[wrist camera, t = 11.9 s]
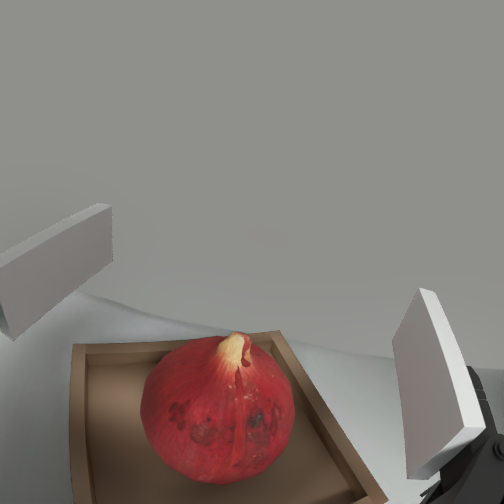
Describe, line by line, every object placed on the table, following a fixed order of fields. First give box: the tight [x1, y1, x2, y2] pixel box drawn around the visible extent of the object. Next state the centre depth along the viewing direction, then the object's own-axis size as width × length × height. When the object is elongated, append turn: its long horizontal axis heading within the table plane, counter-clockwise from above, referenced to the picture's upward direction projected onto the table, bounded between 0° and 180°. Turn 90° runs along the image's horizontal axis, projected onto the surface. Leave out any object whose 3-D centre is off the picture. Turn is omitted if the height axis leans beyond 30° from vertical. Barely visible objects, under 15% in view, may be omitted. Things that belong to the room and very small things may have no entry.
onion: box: [140, 332, 295, 486], centre depth 11 cm, size 6×6×8 cm
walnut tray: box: [69, 331, 389, 504], centre depth 14 cm, size 13×13×6 cm
